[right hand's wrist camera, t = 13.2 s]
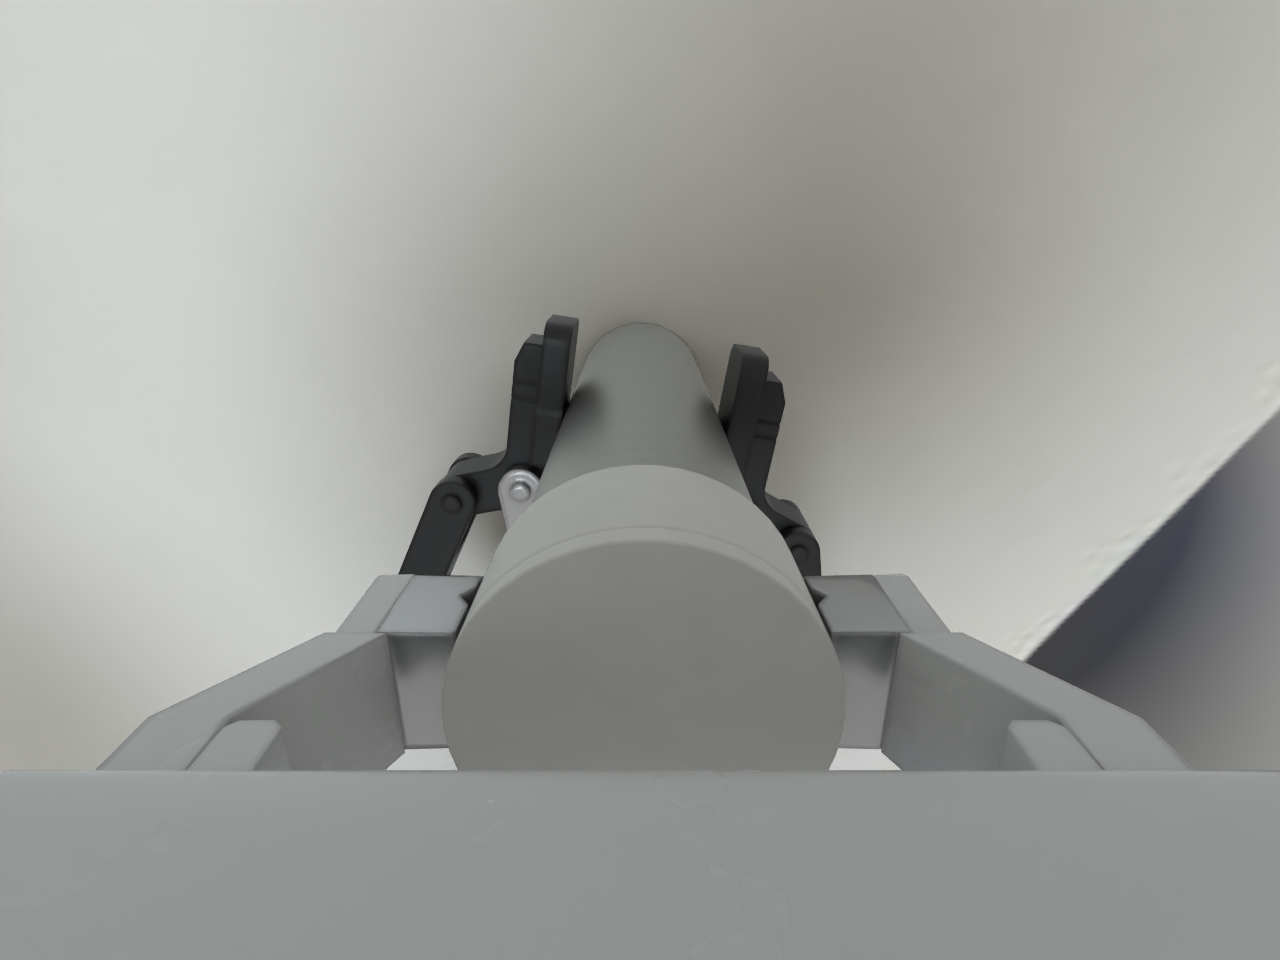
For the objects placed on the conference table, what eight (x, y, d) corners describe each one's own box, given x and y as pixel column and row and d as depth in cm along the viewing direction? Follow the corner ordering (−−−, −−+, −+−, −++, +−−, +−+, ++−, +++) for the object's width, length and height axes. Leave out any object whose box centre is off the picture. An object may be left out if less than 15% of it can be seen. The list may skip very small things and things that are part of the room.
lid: (844, 673, 11) (900, 795, 8) (574, 776, 12) (559, 914, 9) (726, 407, 9) (754, 469, 7) (424, 544, 10) (360, 641, 8)
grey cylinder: (717, 408, 26) (863, 762, 9) (614, 455, 26) (570, 866, 10) (669, 301, 24) (736, 482, 7) (561, 354, 25) (402, 627, 8)
